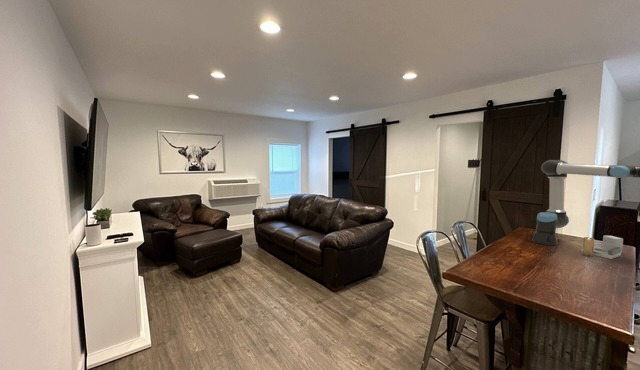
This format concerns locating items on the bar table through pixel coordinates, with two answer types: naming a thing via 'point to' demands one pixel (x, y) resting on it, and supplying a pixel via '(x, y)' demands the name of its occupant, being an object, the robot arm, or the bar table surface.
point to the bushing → (588, 246)
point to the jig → (606, 252)
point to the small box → (612, 242)
